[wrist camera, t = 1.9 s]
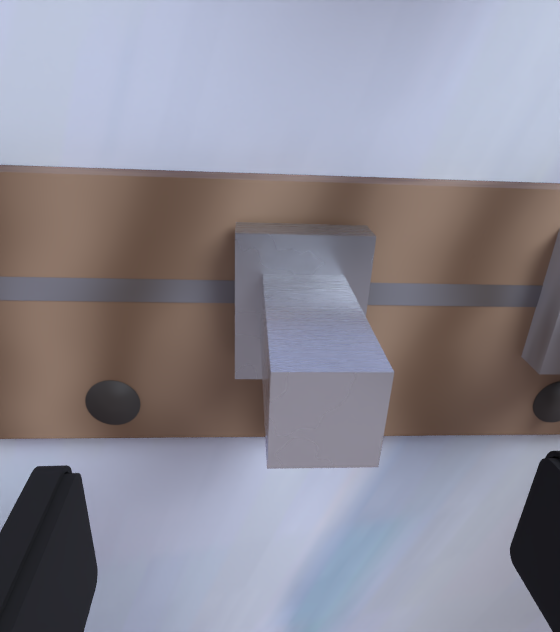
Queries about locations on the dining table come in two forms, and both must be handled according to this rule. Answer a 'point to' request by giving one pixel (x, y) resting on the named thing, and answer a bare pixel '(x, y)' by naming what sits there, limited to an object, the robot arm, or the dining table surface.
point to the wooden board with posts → (219, 299)
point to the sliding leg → (311, 342)
